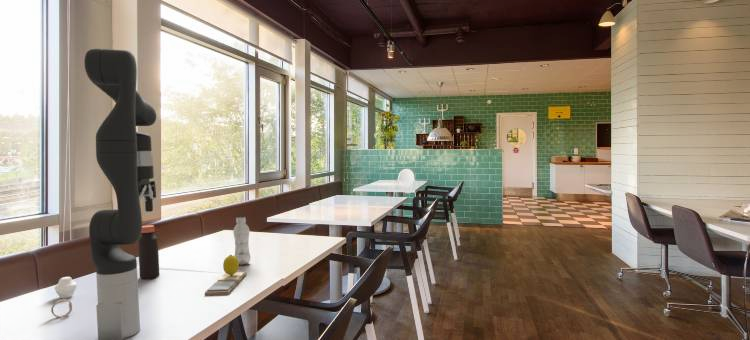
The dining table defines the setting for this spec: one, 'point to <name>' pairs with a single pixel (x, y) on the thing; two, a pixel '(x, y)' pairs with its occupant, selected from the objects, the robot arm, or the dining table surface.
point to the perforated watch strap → (66, 313)
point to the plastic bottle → (241, 241)
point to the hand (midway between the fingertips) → (142, 213)
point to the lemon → (231, 265)
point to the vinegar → (148, 253)
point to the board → (226, 284)
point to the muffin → (65, 287)
